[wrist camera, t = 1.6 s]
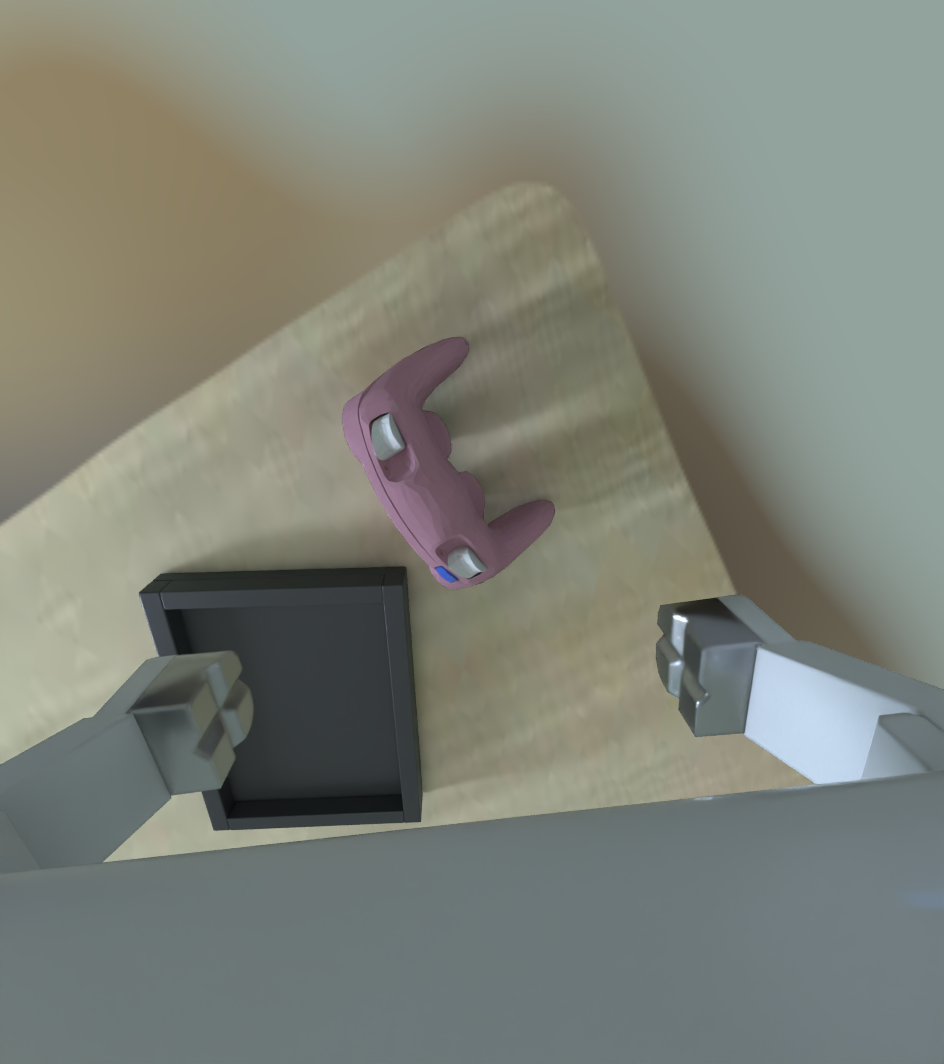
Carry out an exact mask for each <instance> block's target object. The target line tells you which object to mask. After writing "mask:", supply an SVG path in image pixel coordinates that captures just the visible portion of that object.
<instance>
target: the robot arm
mask: <svg viewBox="0 0 944 1064" xmlns="http://www.w3.org/2000/svg"><path fill="white" fill-rule="evenodd" d="M657 624H658V626H659V627H660V629H661V630H662V632H663V633H664V634H663V636H662V637H661V638H660V639H659V641H658V642H657V643H656V662H657V667H658V673H659V675H660V678H661V681H662V683H663V685H664V686H665V688H666V690H667V692H668V693H670V694H672V695H673V696H675V697H677V698H679V709H678V710H679V711H680V713H681V715H682V716H683V718H684V719H685V721H686V723H687V724H688V726H689V727H690V729H691V731H692V732H693V734H694V735H695V737H702V736H715V735H727V734H739V733H745V734H744V735H745V736H746V737H748V738H749V739H750V740H752V741H753V742H755V743H756V744H758V745H759V746H761V747H762V748H764V749H765V750H767V751H768V752H770V753H771V754H773V755H774V756H776V757H777V758H779V759H780V760H781V761H783V762H784V763H786V764H787V765H789V766H790V767H792V768H793V769H795V770H796V771H798V772H799V773H801V774H802V775H804V776H805V777H807V778H808V779H810V780H811V781H812V782H814V783H815V784H814V785H805V786H796V787H787V788H779V789H770V790H761V791H753V792H744V793H735V794H725V795H716V796H707V797H697V798H688V799H679V800H670V801H660V802H651V803H642V804H633V805H623V806H614V807H605V808H596V809H586V810H577V811H568V812H559V813H549V814H540V815H531V816H522V817H512V818H503V819H494V820H485V821H476V822H467V823H458V824H449V825H440V826H431V827H422V828H413V829H404V830H395V831H386V832H377V833H368V834H359V835H350V836H341V837H332V838H323V839H314V840H305V841H296V842H287V843H278V844H269V845H259V846H250V847H241V848H232V849H223V850H214V851H205V852H195V853H186V854H177V855H168V856H159V857H150V858H141V859H131V860H122V861H113V862H104V863H102V862H103V861H104V860H105V859H106V858H108V857H109V856H110V855H111V854H112V853H113V852H114V851H115V850H116V849H117V848H118V847H119V846H120V845H121V844H123V843H124V842H125V841H126V840H127V839H128V838H129V837H130V836H131V835H132V834H133V833H134V832H135V831H136V830H138V829H139V828H140V827H141V826H142V825H143V824H144V823H145V822H146V821H147V820H148V819H149V818H150V817H152V816H153V815H154V814H155V813H156V812H157V811H158V810H159V809H160V808H161V807H162V806H163V805H164V804H165V803H167V802H168V801H169V800H170V799H171V795H178V794H186V793H193V792H200V791H207V790H215V789H221V787H222V785H223V783H224V781H225V779H226V777H227V775H228V773H229V771H230V769H231V767H232V765H233V763H234V761H235V759H236V756H235V753H234V750H233V748H234V747H235V746H237V745H238V744H239V743H240V742H242V741H243V740H244V739H245V738H246V737H247V735H248V732H249V730H250V728H251V726H252V720H253V714H254V705H253V697H252V694H251V691H250V688H249V687H248V686H247V685H246V684H244V683H243V682H242V681H240V680H239V679H238V678H239V676H240V674H241V672H242V670H243V667H242V664H241V662H240V659H239V657H238V654H236V653H235V652H233V651H231V650H229V651H217V652H206V653H194V654H183V655H171V656H163V657H155V658H151V659H148V660H146V661H145V662H144V663H143V664H142V665H141V666H140V667H139V668H138V669H137V670H136V671H135V672H134V674H133V675H132V676H131V677H130V678H129V679H128V680H127V681H126V682H125V683H124V684H123V685H122V686H121V688H120V689H119V690H118V691H117V692H116V693H115V694H114V695H113V696H112V697H111V698H110V699H109V700H108V701H107V703H106V704H105V705H104V706H103V707H102V708H101V709H100V710H99V711H98V712H97V713H96V714H95V715H94V716H93V717H91V718H83V719H82V720H80V721H78V722H76V723H75V724H73V725H71V726H69V727H67V728H66V729H64V730H62V731H60V732H58V733H57V734H55V735H53V736H51V737H49V738H48V739H46V740H44V741H42V742H40V743H39V744H37V745H35V746H33V747H31V748H30V749H28V750H26V751H24V752H23V753H21V754H19V755H17V756H15V757H14V758H12V759H10V760H8V761H6V762H5V763H3V764H1V765H0V1064H944V689H941V688H938V687H935V686H933V685H930V684H927V683H924V682H921V681H918V680H916V679H913V678H910V677H907V676H904V675H902V674H899V673H896V672H893V671H891V670H888V669H885V668H882V667H879V666H877V665H874V664H870V663H868V662H865V661H862V660H860V659H857V658H854V657H851V656H848V655H846V654H843V653H840V652H837V651H834V650H832V649H829V648H826V647H823V646H820V645H817V644H815V643H812V642H809V641H796V640H795V639H794V638H793V637H792V636H791V635H789V634H788V633H787V632H786V631H785V630H784V629H783V628H781V627H780V626H779V625H778V624H777V623H776V622H775V621H773V620H772V619H771V618H770V617H769V616H768V615H767V614H766V613H764V612H763V611H762V610H761V609H760V608H759V607H758V606H756V605H755V604H754V603H753V602H752V601H751V600H750V599H748V598H747V597H746V596H743V595H740V594H737V595H730V596H723V597H716V598H711V599H703V600H695V601H688V602H680V603H672V604H665V605H660V608H659V611H658V620H657Z"/></svg>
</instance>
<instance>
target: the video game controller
mask: <svg viewBox="0 0 944 1064" xmlns="http://www.w3.org/2000/svg"><path fill="white" fill-rule="evenodd" d="M468 351H469V343H468V341H467V340H466V339H464V338H462V337H451V338H448V339H444V340H441V341H439V342H436V343H433V344H431V345H429V346H426V347H424V348H422V349H420V350H419V351H417V352H415V353H414V354H412V355H410V356H408V357H406V358H404V359H402V360H401V361H399V362H398V363H397V364H395V365H394V366H393V367H391V368H390V369H389V370H387V371H386V372H385V373H384V374H383V375H381V376H380V377H379V378H378V379H377V380H375V381H374V382H373V383H372V384H371V385H370V386H368V387H367V388H366V389H365V390H364V391H362V392H361V393H359V394H358V395H356V396H355V397H353V398H352V399H350V400H349V401H348V402H347V403H346V404H345V407H344V409H343V414H342V424H343V429H344V434H345V438H346V441H347V443H348V446H349V448H350V449H351V451H352V453H353V454H354V455H355V457H356V458H357V459H358V460H359V461H360V462H361V463H362V465H363V466H364V468H365V471H366V473H367V475H368V477H369V480H370V482H371V484H372V486H373V488H374V490H375V492H376V494H377V496H378V498H379V500H380V502H381V503H382V505H383V507H384V508H385V510H386V512H387V513H388V515H389V517H390V518H391V520H392V521H393V523H394V525H395V526H396V527H397V529H398V530H399V531H400V533H401V534H402V535H403V537H404V538H405V539H406V541H407V542H408V543H409V544H410V546H411V547H412V548H413V549H414V550H415V551H416V553H417V554H418V555H419V556H420V557H421V558H422V559H423V560H424V561H425V562H426V563H427V564H428V567H429V569H430V571H431V573H432V575H433V576H434V577H435V578H436V579H437V581H438V582H439V583H440V584H442V585H443V586H444V587H446V588H449V589H452V590H455V589H461V588H465V587H469V586H473V585H477V584H481V583H483V582H484V581H485V580H488V579H490V578H492V577H494V576H495V575H496V574H498V573H499V572H500V571H502V570H503V569H505V568H506V567H507V566H508V565H509V564H510V563H511V562H512V561H514V560H515V559H516V558H517V557H518V556H519V555H520V554H521V553H522V552H523V551H525V550H526V549H527V548H528V547H529V546H530V545H531V544H532V543H533V542H534V541H535V540H536V539H537V538H538V537H539V536H540V535H541V534H542V533H543V532H544V531H545V530H546V529H547V528H548V527H549V526H550V524H551V522H552V520H553V517H554V515H555V507H554V504H553V503H552V502H551V501H547V500H538V501H535V502H530V503H527V504H524V505H522V506H519V507H517V508H515V509H513V510H511V511H509V512H508V513H506V514H504V515H502V516H500V517H499V518H497V519H496V520H494V521H493V522H491V523H490V524H488V525H487V524H486V523H485V522H484V521H483V515H484V507H485V499H484V494H483V491H482V488H481V486H480V485H479V483H478V481H477V480H476V479H475V478H474V477H473V476H472V475H471V474H470V473H468V472H460V473H458V472H457V470H456V469H455V468H454V467H453V465H452V464H451V463H450V462H449V461H448V459H447V458H448V457H449V455H450V453H451V440H450V435H449V433H448V430H447V428H446V426H445V424H444V423H443V421H442V420H441V418H440V417H438V416H437V415H436V414H434V413H433V412H429V411H422V406H423V403H424V402H425V400H426V398H427V397H428V396H429V395H430V394H431V393H432V391H433V390H434V389H435V388H436V387H437V386H438V385H439V384H440V383H441V382H443V381H444V380H445V379H446V378H447V377H448V376H449V375H451V374H452V373H453V372H454V371H455V370H456V369H457V368H458V367H460V365H461V364H462V362H463V361H464V359H465V358H466V356H467V354H468Z"/></svg>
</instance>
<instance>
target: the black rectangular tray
mask: <svg viewBox="0 0 944 1064" xmlns="http://www.w3.org/2000/svg"><path fill="white" fill-rule="evenodd" d="M139 597H140V600H141V603H142V606H143V609H144V612H145V615H146V619H147V622H148V625H149V628H150V631H151V634H152V637H153V641H154V644H155V647H156V650H157V653H158V656H159V657H163V656H171V655H183V654H194V653H206V652H217V651H229V650H231V651H233V652H235V653H236V654H238V657H239V659H240V662H241V664H242V667H243V670H242V672H241V674H240V676H239V678H238V679H239V680H240V681H242V682H243V683H244V684H246V685H247V686H248V687H249V688H250V691H251V694H252V697H253V705H254V714H253V720H252V726H251V728H250V730H249V732H248V735H247V737H246V738H245V739H244V740H243V741H242V742H240V743H239V744H238V745H237V746H235V747H234V748H233V750H234V753H235V756H236V759H235V761H234V763H233V765H232V767H231V769H230V771H229V773H228V775H227V777H226V779H225V781H224V783H223V785H222V787H221V789H215V790H207V791H201V792H202V795H203V798H204V801H205V804H206V807H207V811H208V814H209V817H210V820H211V823H212V826H213V830H215V831H218V830H245V829H268V828H291V827H314V826H337V825H360V824H383V823H404V821H405V823H410V822H421V812H422V796H423V792H422V778H421V765H420V751H419V737H418V723H417V709H416V695H415V681H414V667H413V654H412V640H411V626H410V612H409V598H408V584H407V570H406V567H385V568H349V569H313V570H277V571H241V572H206V573H170V574H160V575H159V576H158V577H156V578H155V579H154V580H153V581H152V582H151V583H150V584H148V585H147V586H146V587H145V588H144V589H143V590H141V591H140V592H139Z"/></svg>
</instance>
